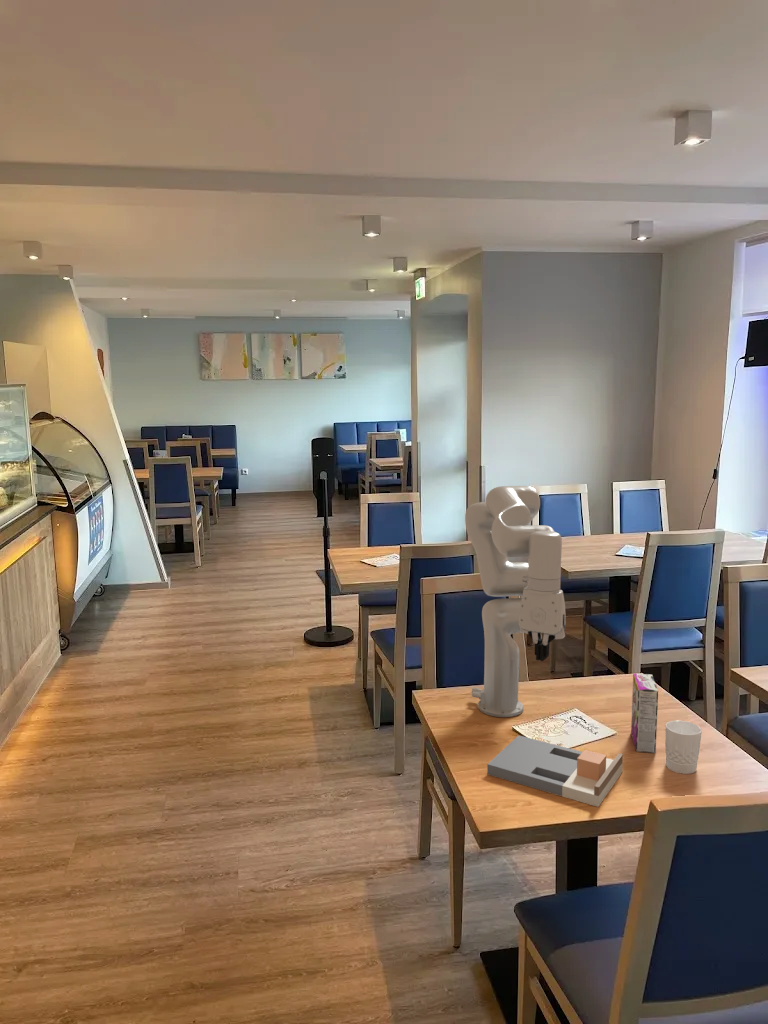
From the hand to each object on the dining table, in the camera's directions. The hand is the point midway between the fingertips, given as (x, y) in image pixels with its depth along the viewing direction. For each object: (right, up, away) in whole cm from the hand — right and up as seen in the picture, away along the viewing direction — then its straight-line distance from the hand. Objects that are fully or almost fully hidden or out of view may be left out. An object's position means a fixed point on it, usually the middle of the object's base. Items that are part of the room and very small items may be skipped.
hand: (541, 658), depth 179 cm
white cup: (+33, -26, -1) cm, 42 cm away
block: (+9, -24, -9) cm, 27 cm away
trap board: (+2, -26, -4) cm, 26 cm away
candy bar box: (+28, -24, +12) cm, 39 cm away
